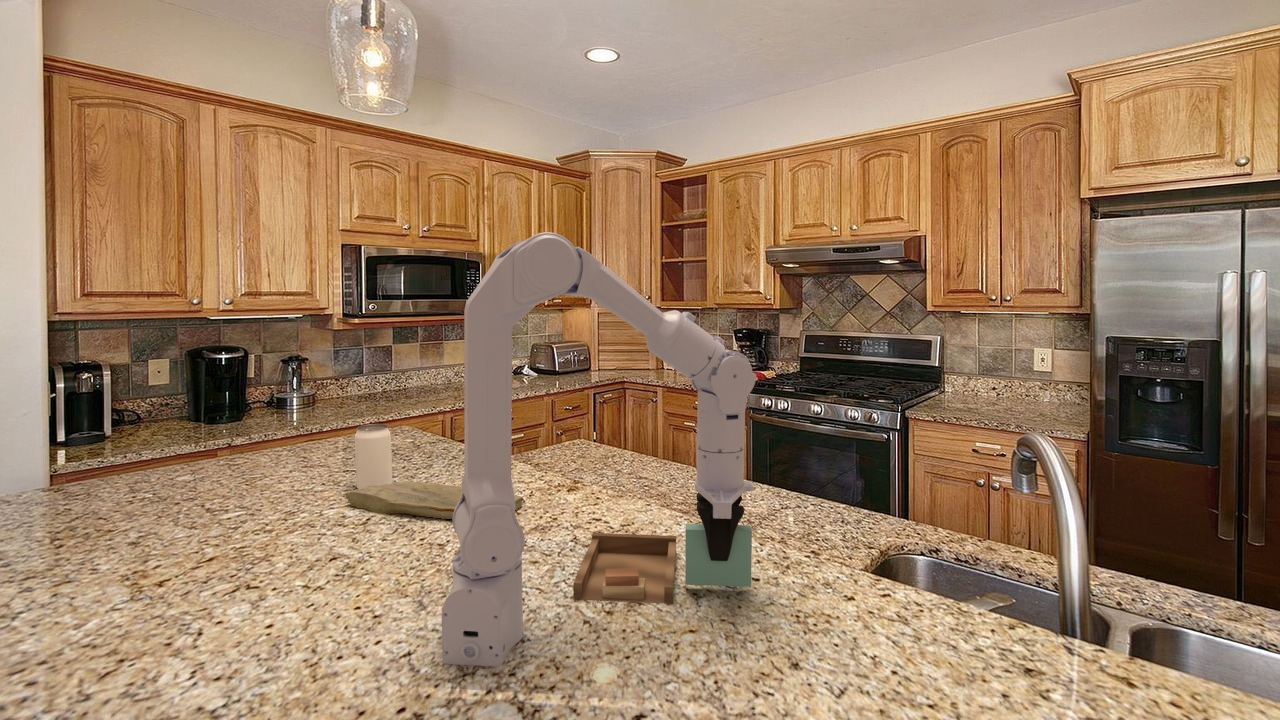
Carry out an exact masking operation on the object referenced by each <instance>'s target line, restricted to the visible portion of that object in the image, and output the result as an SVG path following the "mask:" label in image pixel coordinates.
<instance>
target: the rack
mask: <svg viewBox="0 0 1280 720" xmlns="http://www.w3.org/2000/svg"><path fill="white" fill-rule="evenodd" d="M676 559H677V536H676V535H660V534H659V535H658V534H657V535H656V534H634V533H633V534H632V533H631V534H629V533H606V532H605V533H603V532H602V533H601V532H593V533H592V535H591V540H590V542H589V545H588V547H587V550H586V552H585V555H584V556H583V560H582V562H581V564H580V567H579V569H578V572H577V574H576V576H575V578H574V579H573V580H574V581H573V583H572V584H573V589H572V591H573V593H572V594H573V595H572V596H573V598H572V599H573V600H581V601H605V602H623V603H624V602H626V603H627V602H628V603H646V604H648V603H649V604H669V605H673V604H674V603H673V602H674V590H675V577H676V576H675V574H676V562H677V561H676ZM622 568H638V574H639V578H645V596H644V600H631V599H609V598H603V583H604V580H605V577H606V569H622Z"/></svg>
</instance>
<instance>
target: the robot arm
mask: <svg viewBox="0 0 1280 720" xmlns="http://www.w3.org/2000/svg"><path fill="white" fill-rule="evenodd" d="M560 295H561V296H570V297H571V296H572V297H579V298H586V299H589V300H591V301H593V302H594V303H596V305H599V306H600V307H602V308H603V309H605V310H606V311H607V312H609V313H611V314H612V315H614V316H616V317H617V318H619V319H620V320H622V321H624V322H625V323H627V324H628V325H629V326H631V327H632V328H634V329H635V330H637V331H638V332H640V333H642V334H643V335H644V339H645V343H646V347H647V350H648V352H649V353H651V354H652V355H654V356H655V357H656V358H657V359H659V360H661V361H663V362H664V363H665V364H667V365H668V366H669V367H671V369H672V368H673V369H674V370H675V371H676V372H677V373H679V374H681V375H682V376H684V377H685V378H687V379H688V380H689V383H690V385H691V386H692V387H693V388H694V390H697V411H696V413H697V415H696V416H697V417H696V418H697V419H696V423H697V424H696V425H697V426H696V480H695V481H694V490H695V491H696V492H697V493H696V512H697V514H698V516H699V518H700V520H701V522H702V524H703V525H704V528H705V532H706V538H707V545H708V551H709V556H710V559H711V561H728V558H729V555H730V551H731V546H732V541H733V537H734V533H735V530H736V527H737V525H739V523H740V521H741V520H742V518H743V516H744V513H745V508H744V507H745V506H744V505H740V504H741V502H742V500H743V497H742V494H744V493H746V492H753V491H754V483H753V482H752V481H747V480H744V477H745V476H744V474H745V438H746V437H745V436H746V435H745V434H746V433H745V430H746V428H745V427H746V409H747V406H748V405H747V404H748V403H747V402H748V401H747V399H748V397H749V395H750V393H751V392H752V391H753V388H754V386H755V384H756V380H757V374H756V373H754V372H753V368H752V365H751V364H750V363H751V362H750V360H749V358H748V357H747V356H746V355H744V354H743V353H741V352H739V351H737V350H736V351H735V350H730V349H726V347H725V345H724V344H725V340H724V339H723V338H722V337H720V336H714V335H712V334H710V333H709V332H708V331H706V330H705V329H703V328H702V327H701V326H699V325H698V324H696V323H695V321H696V316H695V315H693V314H692V313H691V312H690V311H682V312H681V311H679V310H676V309H673V310H669V311H665V312H662V311H661V310H660V309H659V308H658V307H656V306H655V305H654V304H652V303H651V302H650V301H649V300H648V299H646V298H645V297H644V296H643V295H641V293H639V291H637V290H636V289H634V288H632V287H631V286H630V284H628V283H627V282H626V281H624V280H623V278H621V277H619V276H618V275H617V274H616V273H614V271H612V270H611V269H610V268H608V267H607V266H606V265H604V264H603V263H602V261H600V260H598V259H597V258H596V257H595V256H594V255H592V254H591V253H590V252H589V251H587V250H585V249H584V248H581V247H580V246H574V244H573V243H572V242H571V241H570V240H568V238H566V237H565V236H564V235H561V234H559V233H557V232H556V233H555V232H550V231H549V232H548V231H547V232H546V231H544V232H539V233H536V234H534V235H532V236H531V237H530V236H529V237H528V239H523V240H520V241H517V242H515V243H513V244H512V245H511V246H509V247H508V248H507V249H505V250H503V251H502V252H501V253H499V254H497V256H495V258H494V260H493V261H492V264H491V265H490V267H489V268H488V270H487V272H485V274H484V276H483V277H482V279H481V280H480V282H479V283H478V285H477V286H476V287H475V288H474V290H473V292H472V293H471V295H470V296H469V297H468V299H467V300H466V302H465V306H464V314H463V316H464V330H463V331H464V334H463V335H464V347H463V348H464V349H463V351H464V355H463V356H464V358H463V359H464V360H463V361H464V372H463V373H464V374H463V376H464V381H463V382H464V384H463V385H464V387H463V388H464V389H463V390H464V395H463V397H464V400H463V401H464V408H463V409H464V410H463V411H464V416H463V417H464V423H463V424H464V439H463V440H464V442H463V443H464V447H463V449H464V450H463V451H464V453H463V455H464V457H463V458H464V462H463V463H464V465H463V467H464V474H463V476H462V480H461V487H462V491H461V497H460V500H459V502H458V504H457V506H456V508H455V510H454V513H453V520H452V527H453V530H454V532H455V534H456V536H457V539H458V542H459V547H458V549H457V551H456V553H455V556H453V557H452V562H451V564H452V585H451V588H450V592H449V593H448V595H447V597H446V598H445V600H444V602H443V605H442V608H441V638H442V640H441V641H442V643H441V644H442V664H444V665H445V664H446V665H461V666H477V667H478V666H479V667H480V666H482V667H495V668H496V667H499V668H500V667H502V665H503V663H504V661H505V659H506V657H507V655H508V654H509V652H510V651H511V649H513V647H514V646H516V645H517V644H518V643H519V642H520V641H521V640H522V638H523V634H524V621H523V620H524V615H523V613H524V611H523V610H524V609H523V605H524V604H523V603H524V602H523V556H522V555H523V552H524V549H525V545H526V543H525V542H526V541H525V533H524V531H523V528H522V526H521V525H520V523H519V521H518V518H517V514H516V511H515V497H514V495H515V491H514V486H513V479H512V437H513V435H512V434H513V433H512V431H513V430H512V428H513V427H512V421H513V418H512V417H513V416H512V413H513V412H512V409H513V408H512V407H513V406H512V404H513V403H512V402H513V400H512V399H513V328H514V326H515V325H516V324H517V323H518V322H519V321H520V320H521V319H523V318H524V317H525V316H526V315H527V314H528V313H530V312H531V311H532V310H533V309H534V308H535V307H536V306H539V305H540V304H542V303H545V302H547V301H549V300H552V299H553V298H556V297H558V296H560Z"/></svg>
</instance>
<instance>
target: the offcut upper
mask: <svg viewBox="0 0 1280 720" xmlns="http://www.w3.org/2000/svg"><path fill="white" fill-rule="evenodd" d="M637 585H639V574H638V568H622V569H606V586H637Z"/></svg>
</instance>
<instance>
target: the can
mask: <svg viewBox="0 0 1280 720" xmlns="http://www.w3.org/2000/svg"><path fill="white" fill-rule="evenodd" d="M354 454H355V455H354V456H355V477H356V478H355V481H356V482H355V483H356V488H357V489H362V488H364V487H367V486H375V485H385V484H391V483H393V458H392V435H391V431H390V430H389V425H387V424H384V423H371V424H363V425H360V426H359V425H358V426H357V427H356V433H355V435H354Z"/></svg>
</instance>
